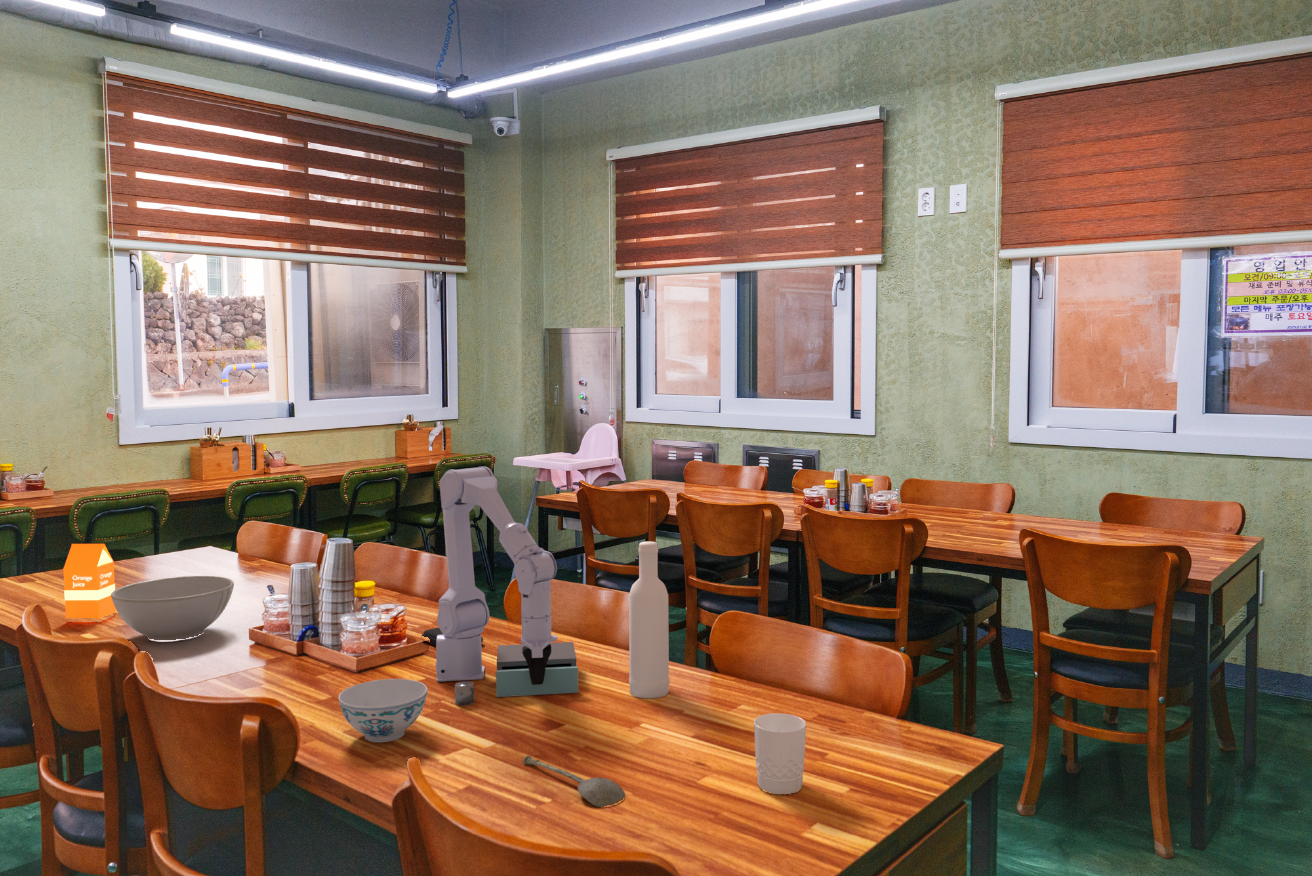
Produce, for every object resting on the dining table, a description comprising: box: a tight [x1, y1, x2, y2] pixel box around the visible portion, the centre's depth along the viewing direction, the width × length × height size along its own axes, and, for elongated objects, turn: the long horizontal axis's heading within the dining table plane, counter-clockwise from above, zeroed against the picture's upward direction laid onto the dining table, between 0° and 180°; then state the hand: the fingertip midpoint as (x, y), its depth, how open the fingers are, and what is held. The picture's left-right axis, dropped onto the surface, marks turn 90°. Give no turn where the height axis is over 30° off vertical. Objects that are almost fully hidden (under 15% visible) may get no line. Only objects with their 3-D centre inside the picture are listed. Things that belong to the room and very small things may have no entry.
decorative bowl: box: [111, 575, 235, 640], centre depth 233 cm, size 27×27×12 cm
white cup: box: [753, 712, 807, 795], centre depth 145 cm, size 8×8×10 cm
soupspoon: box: [522, 755, 626, 808], centre depth 148 cm, size 22×3×7 cm
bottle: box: [628, 540, 670, 699], centre depth 188 cm, size 8×8×30 cm
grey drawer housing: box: [496, 641, 577, 670], centre depth 199 cm, size 16×12×6 cm
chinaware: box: [338, 678, 428, 743], centre depth 167 cm, size 15×15×8 cm
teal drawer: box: [495, 665, 579, 698], centre depth 193 cm, size 16×12×5 cm
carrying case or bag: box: [421, 626, 484, 646], centre depth 225 cm, size 11×3×15 cm
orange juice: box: [63, 543, 117, 619], centre depth 250 cm, size 8×9×20 cm
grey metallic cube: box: [454, 681, 475, 706], centre depth 184 cm, size 4×4×4 cm
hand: (537, 683), depth 186 cm, fingers closed
